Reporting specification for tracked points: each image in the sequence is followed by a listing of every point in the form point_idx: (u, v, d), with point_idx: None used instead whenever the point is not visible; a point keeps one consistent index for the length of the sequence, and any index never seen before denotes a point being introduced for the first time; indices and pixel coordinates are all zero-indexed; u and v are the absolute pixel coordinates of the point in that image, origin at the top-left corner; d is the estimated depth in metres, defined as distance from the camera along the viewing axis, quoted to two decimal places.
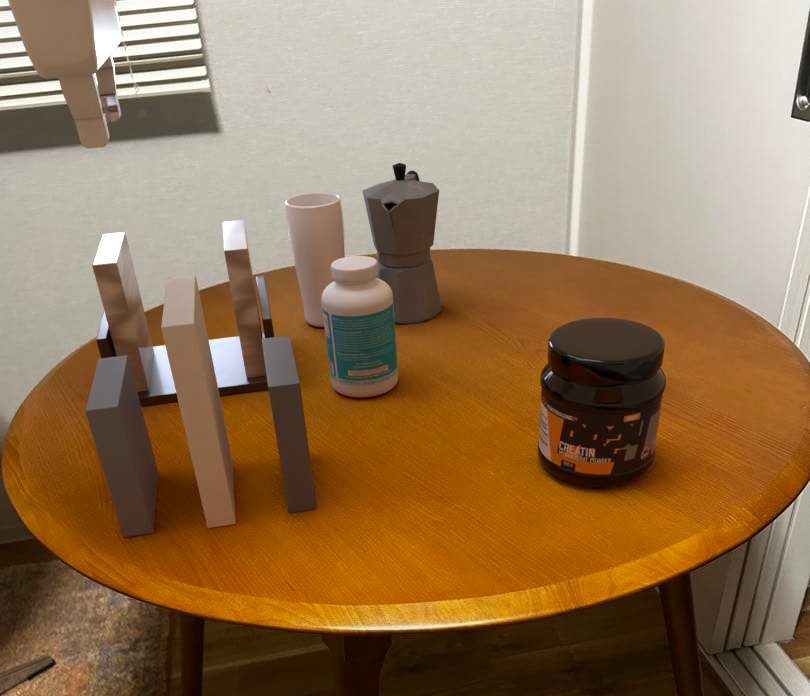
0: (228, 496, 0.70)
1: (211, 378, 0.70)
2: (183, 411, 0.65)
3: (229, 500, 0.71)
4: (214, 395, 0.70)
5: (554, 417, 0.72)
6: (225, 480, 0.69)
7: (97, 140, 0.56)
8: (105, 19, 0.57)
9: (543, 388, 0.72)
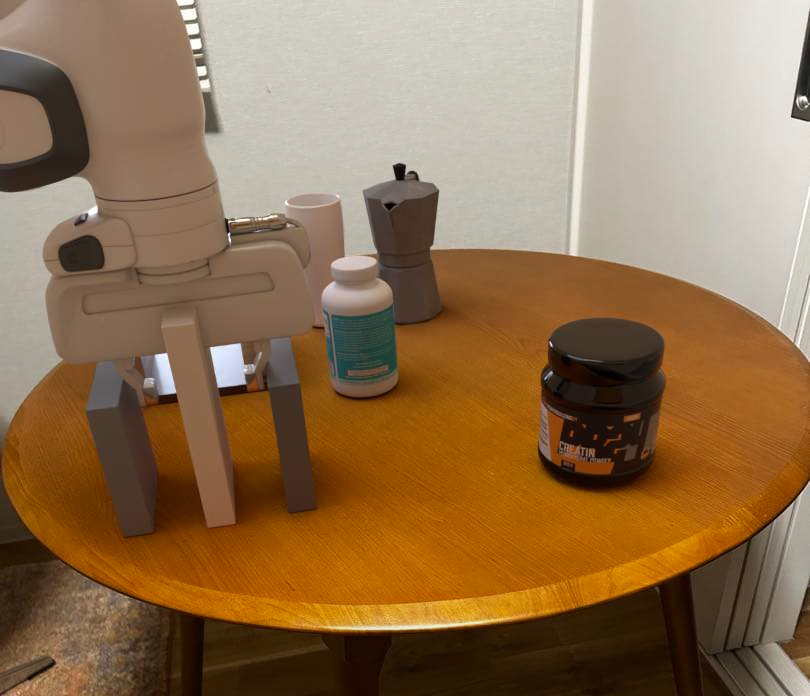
0: (228, 496, 0.70)
1: (211, 378, 0.70)
2: (183, 411, 0.65)
3: (229, 500, 0.71)
4: (214, 395, 0.70)
5: (554, 417, 0.72)
6: (225, 480, 0.69)
7: None
8: None
9: (543, 388, 0.72)
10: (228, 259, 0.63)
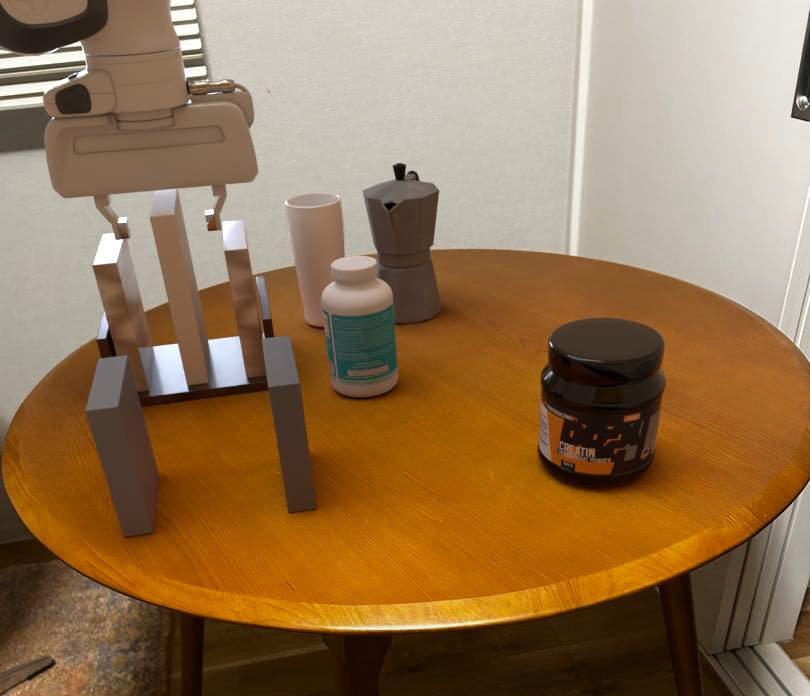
0: (202, 358, 0.91)
1: (189, 267, 0.91)
2: (167, 286, 0.86)
3: (203, 362, 0.91)
4: (192, 280, 0.91)
5: (554, 417, 0.72)
6: (200, 345, 0.90)
7: None
8: (160, 167, 0.83)
9: (543, 388, 0.72)
10: (188, 113, 0.81)
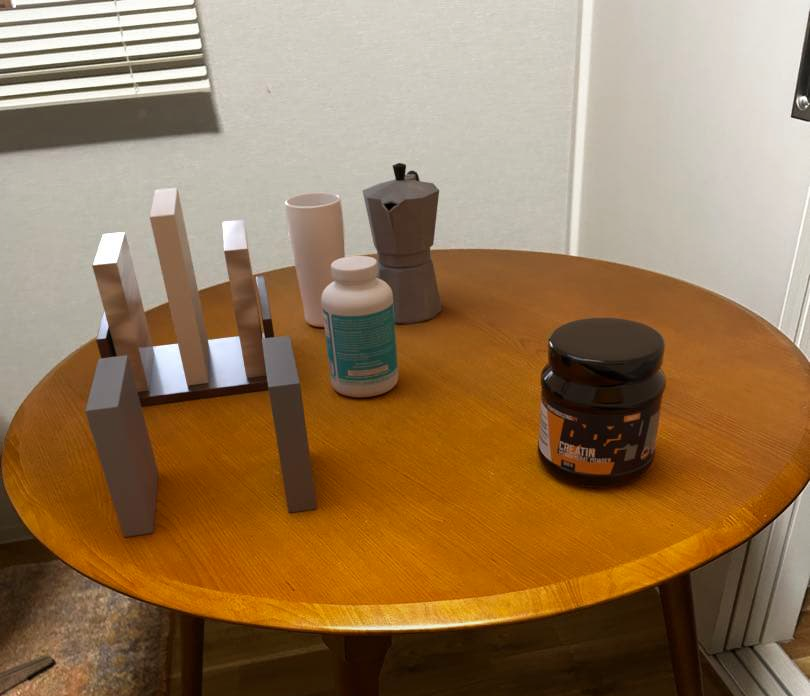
0: (202, 358, 0.91)
1: (189, 267, 0.91)
2: (167, 286, 0.86)
3: (203, 362, 0.91)
4: (192, 280, 0.91)
5: (554, 417, 0.72)
6: (200, 345, 0.90)
7: None
8: None
9: (543, 388, 0.72)
10: None
